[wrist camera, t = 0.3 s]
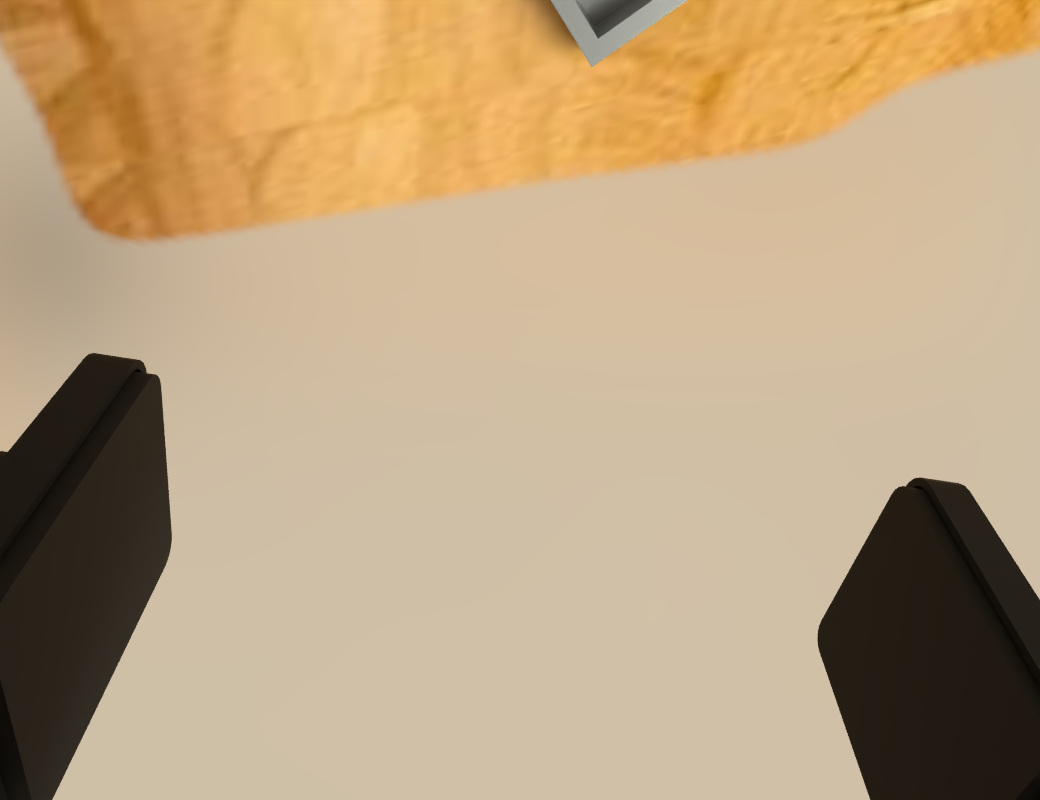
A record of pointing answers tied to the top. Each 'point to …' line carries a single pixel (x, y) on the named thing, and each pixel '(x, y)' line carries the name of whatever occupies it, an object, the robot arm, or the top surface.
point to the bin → (610, 22)
